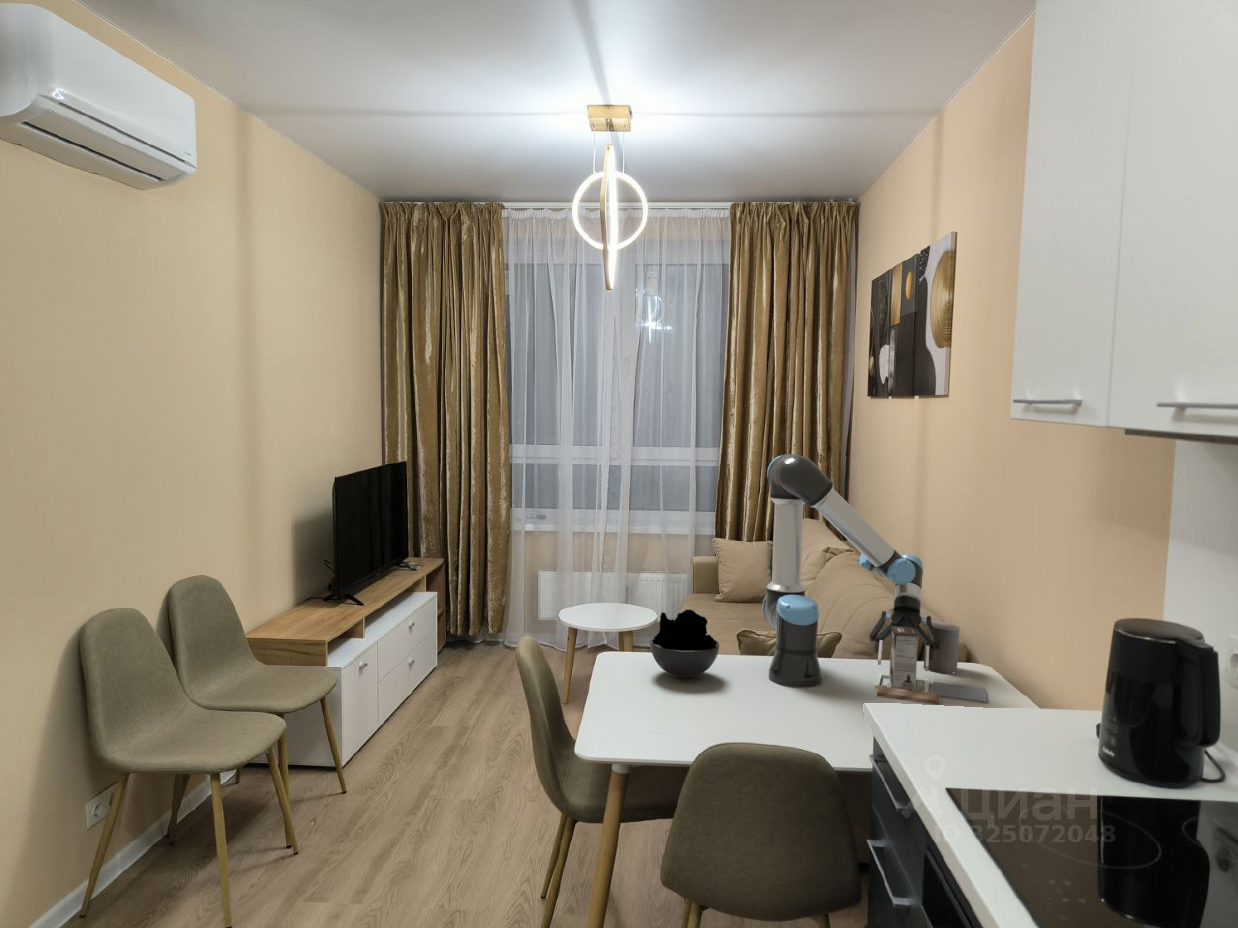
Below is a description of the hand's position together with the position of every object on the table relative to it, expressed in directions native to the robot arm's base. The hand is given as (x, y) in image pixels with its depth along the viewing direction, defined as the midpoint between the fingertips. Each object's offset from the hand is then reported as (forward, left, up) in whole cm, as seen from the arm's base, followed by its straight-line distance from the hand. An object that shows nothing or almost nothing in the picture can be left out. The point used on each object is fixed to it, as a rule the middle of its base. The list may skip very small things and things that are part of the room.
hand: (902, 665), depth 227 cm
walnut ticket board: (+2, -7, -6) cm, 10 cm away
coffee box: (0, +2, -7) cm, 7 cm away
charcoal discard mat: (+15, +3, -6) cm, 17 cm away
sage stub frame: (0, +3, -6) cm, 7 cm away
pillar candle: (+10, +25, -7) cm, 28 cm away
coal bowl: (-59, -18, -7) cm, 62 cm away
